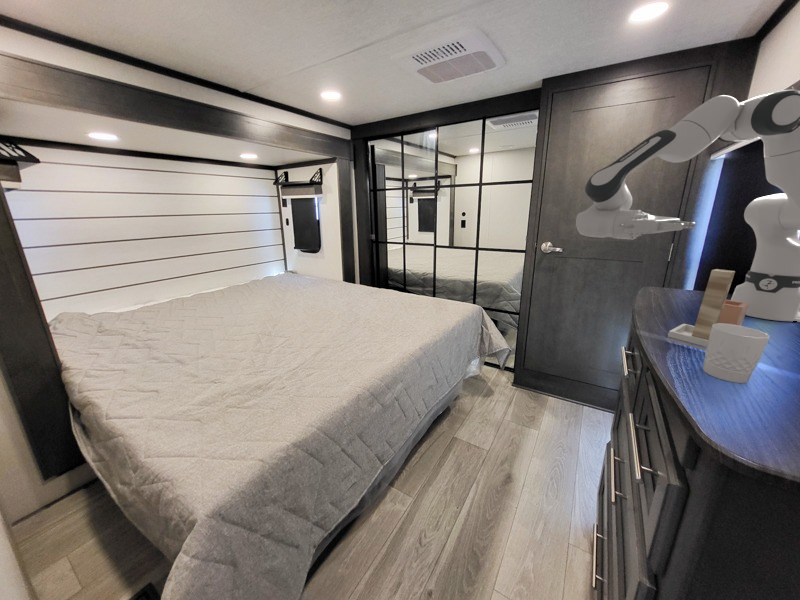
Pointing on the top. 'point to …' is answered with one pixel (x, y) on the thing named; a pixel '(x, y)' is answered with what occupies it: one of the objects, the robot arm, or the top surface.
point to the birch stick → (713, 302)
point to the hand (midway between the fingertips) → (688, 226)
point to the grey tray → (686, 337)
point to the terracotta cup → (733, 312)
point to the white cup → (733, 352)
